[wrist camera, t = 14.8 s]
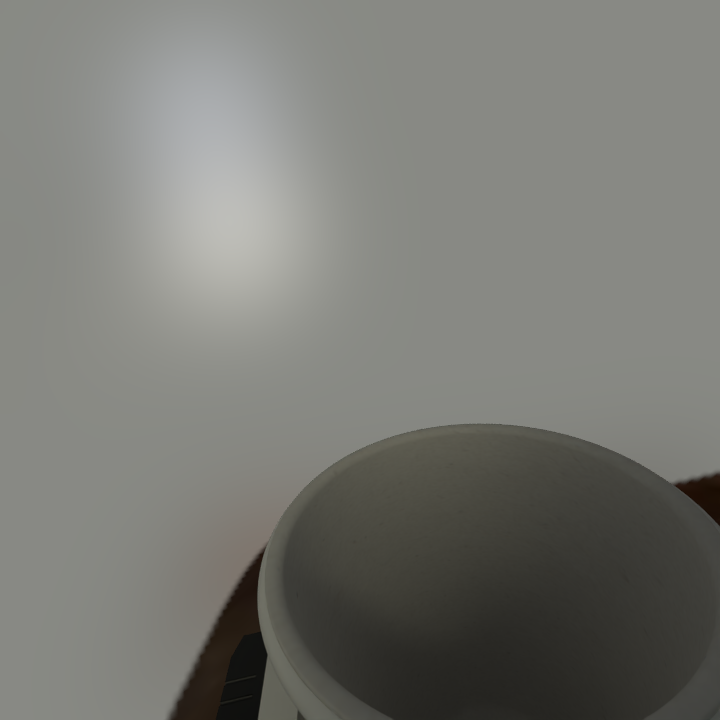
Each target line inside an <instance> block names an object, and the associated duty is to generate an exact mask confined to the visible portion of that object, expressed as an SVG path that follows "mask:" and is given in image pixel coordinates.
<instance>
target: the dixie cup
mask: <svg viewBox="0 0 720 720" xmlns="http://www.w3.org/2000/svg"><path fill="white" fill-rule="evenodd" d="M258 614H259V622H260V628H261V633H262V637H263V641H264V645H265V648H266V651H267V654H268V657H269V659H270V662H271V664H272V667H273V669H274V671H275V673H276V675H277V677H278V679H279V681H280V683H281V685H282V686H283V688H284V690H285V691H286V693H287V695H288V696H289V698H290V699H291V701H292V702H293V704H294V705H295V707H296V708H297V709H298V711H299V712H300V713H301V714H302V716H303V717H304V718H305V719H306V720H720V527H719V525H718V524H717V523H716V522H715V521H714V520H713V519H712V518H711V517H710V516H709V515H708V514H707V513H706V512H705V511H704V510H703V509H702V508H701V507H700V506H699V505H697V504H696V503H695V502H694V501H693V500H692V499H690V498H689V497H688V496H687V495H686V494H684V493H683V492H682V491H680V490H679V489H678V488H676V487H675V486H674V485H672V484H671V483H669V482H668V481H666V480H665V479H663V478H662V477H660V476H659V475H657V474H655V473H654V472H652V471H650V470H649V469H647V468H645V467H644V466H642V465H640V464H639V463H636V462H635V461H633V460H631V459H629V458H627V457H625V456H622V455H621V454H619V453H616V452H614V451H611V450H609V449H607V448H604V447H602V446H599V445H597V444H594V443H591V442H588V441H585V440H582V439H579V438H575V437H572V436H568V435H564V434H560V433H556V432H552V431H547V430H542V429H536V428H530V427H523V426H513V425H502V424H460V425H448V426H439V427H432V428H426V429H421V430H416V431H411V432H407V433H404V434H400V435H396V436H393V437H390V438H387V439H384V440H381V441H378V442H376V443H373V444H371V445H368V446H366V447H364V448H362V449H359V450H358V451H355V452H353V453H351V454H350V455H348V456H346V457H344V458H343V459H341V460H339V461H338V462H336V463H335V464H333V465H332V466H330V467H329V468H327V469H326V470H325V471H323V472H322V473H321V474H320V475H318V476H317V477H316V478H315V479H314V480H312V481H311V482H310V483H309V484H308V485H307V486H306V487H305V488H304V489H303V491H301V492H300V494H299V495H298V496H297V497H296V498H295V499H294V501H293V502H292V503H291V504H290V506H289V507H288V508H287V510H286V511H285V512H284V514H283V515H282V517H281V518H280V520H279V522H278V524H277V525H276V527H275V529H274V531H273V533H272V535H271V537H270V540H269V542H268V544H267V547H266V550H265V553H264V556H263V560H262V564H261V569H260V574H259V582H258Z"/></svg>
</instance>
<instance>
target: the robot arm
mask: <svg viewBox="0 0 720 720" xmlns="http://www.w3.org/2000/svg"><path fill="white" fill-rule="evenodd" d="M225 682H226V684H225V686H224V689H223V693H222V697H221V701H220V702H221V705H220V706H219V709H218V713H217V717H216V720H306V719H305V718H304V717H303V716H302V714H301V713H300V712H299V711H298V709H297V708H296V707H295V705H294V704H293V702H292V701H291V699H290V698H289V696H288V695H287V693H286V691H285V690H284V688H283V686H282V685H281V683H280V681H279V679H278V677H277V675H276V673H275V671H274V669H273V667H272V664H271V662H270V659H269V657H268V654H267V651H266V648H265V645H264V641H263V637H262V633H261V632H258V633H254V634H249V635H245V636H244V637H243V638H242V640H241V642H240V643H239V645H238V647H237V648H236V650H235V652H234V654H233V655H232V657H231V660H230V664H229V668H228V673H227V677H226V681H225Z"/></svg>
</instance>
